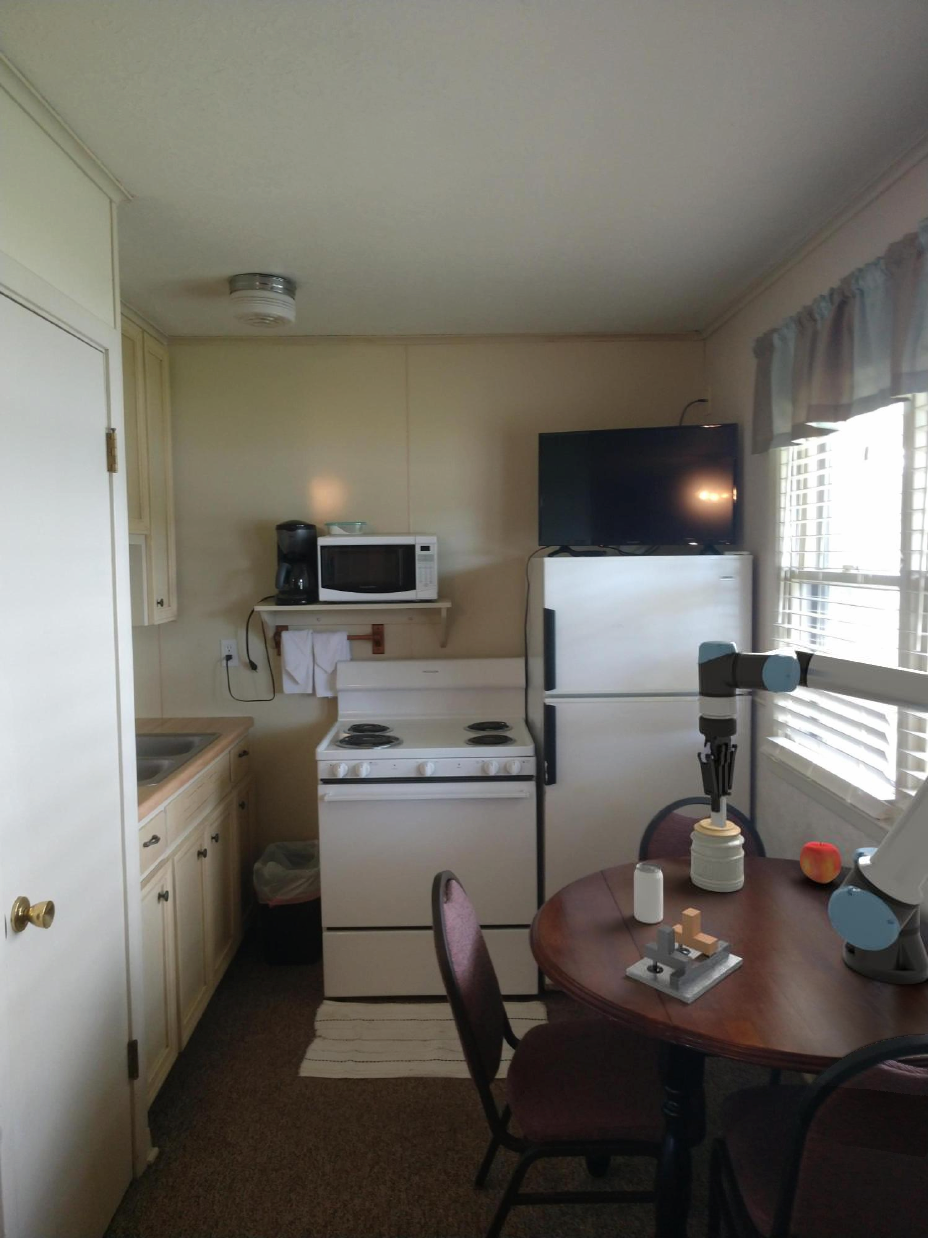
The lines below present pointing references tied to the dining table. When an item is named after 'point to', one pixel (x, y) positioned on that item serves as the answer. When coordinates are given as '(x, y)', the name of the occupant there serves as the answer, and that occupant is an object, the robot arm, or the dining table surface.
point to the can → (648, 893)
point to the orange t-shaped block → (694, 934)
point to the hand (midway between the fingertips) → (718, 826)
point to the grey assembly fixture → (682, 967)
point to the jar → (717, 857)
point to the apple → (820, 861)
